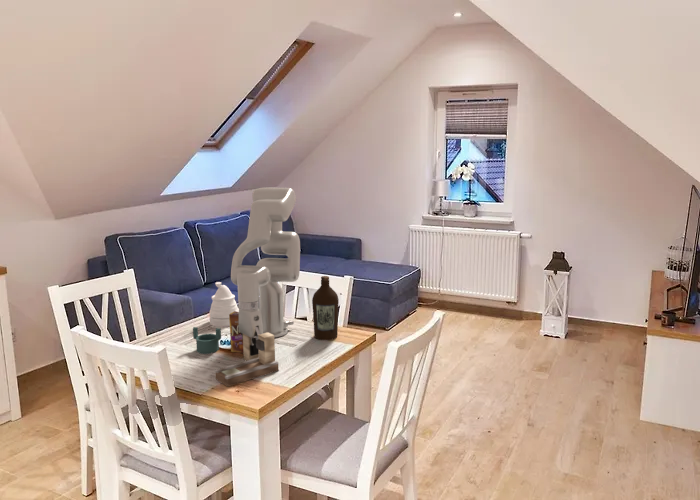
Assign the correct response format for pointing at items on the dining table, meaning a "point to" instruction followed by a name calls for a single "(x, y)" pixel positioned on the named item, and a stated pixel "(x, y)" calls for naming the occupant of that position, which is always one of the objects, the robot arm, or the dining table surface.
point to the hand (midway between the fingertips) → (251, 352)
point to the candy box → (235, 333)
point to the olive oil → (325, 311)
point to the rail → (251, 363)
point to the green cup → (207, 341)
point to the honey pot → (222, 306)
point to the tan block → (248, 348)
